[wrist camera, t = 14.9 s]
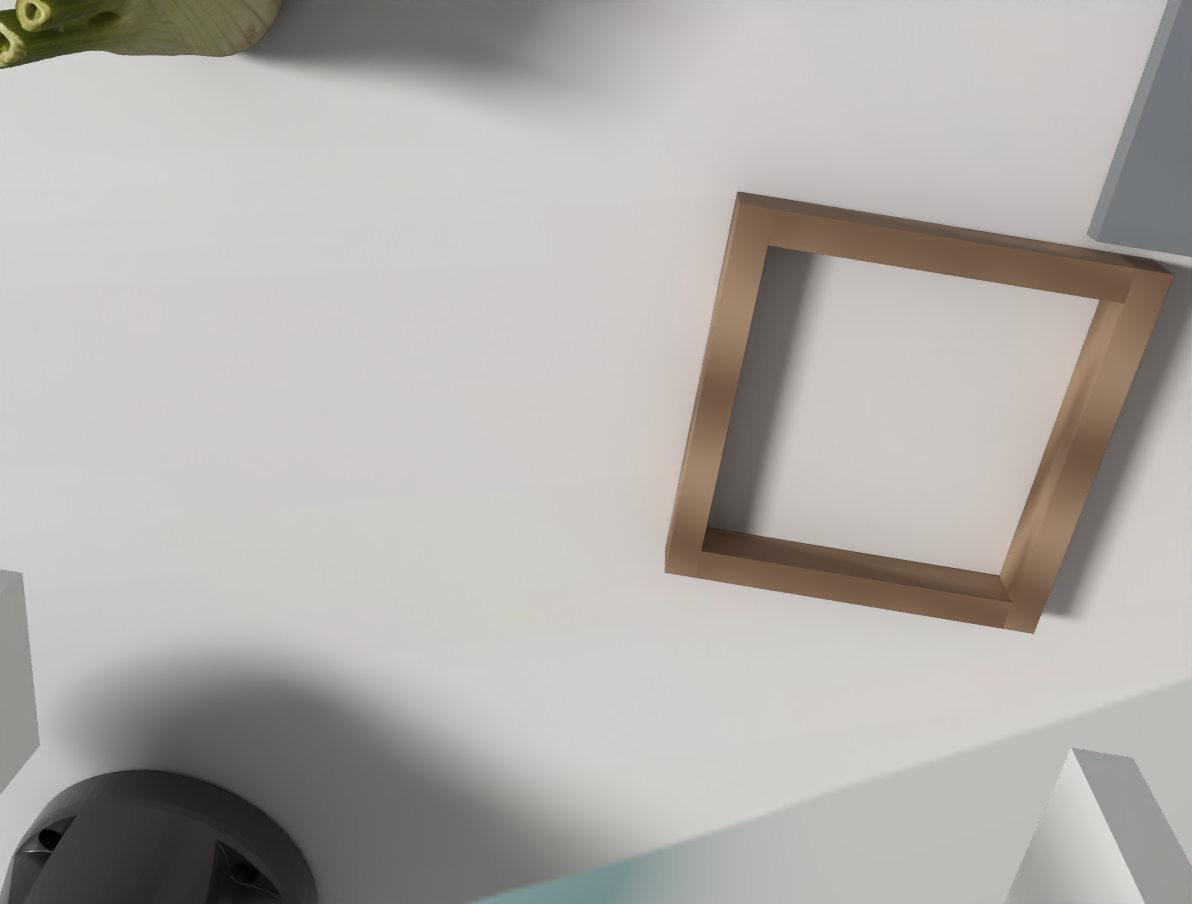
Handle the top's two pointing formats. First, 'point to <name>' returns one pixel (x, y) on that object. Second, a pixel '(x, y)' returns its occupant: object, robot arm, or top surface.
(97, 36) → the fennel bulb
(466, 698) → the top surface
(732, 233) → the brown wooden square frame
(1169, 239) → the slate coaster
